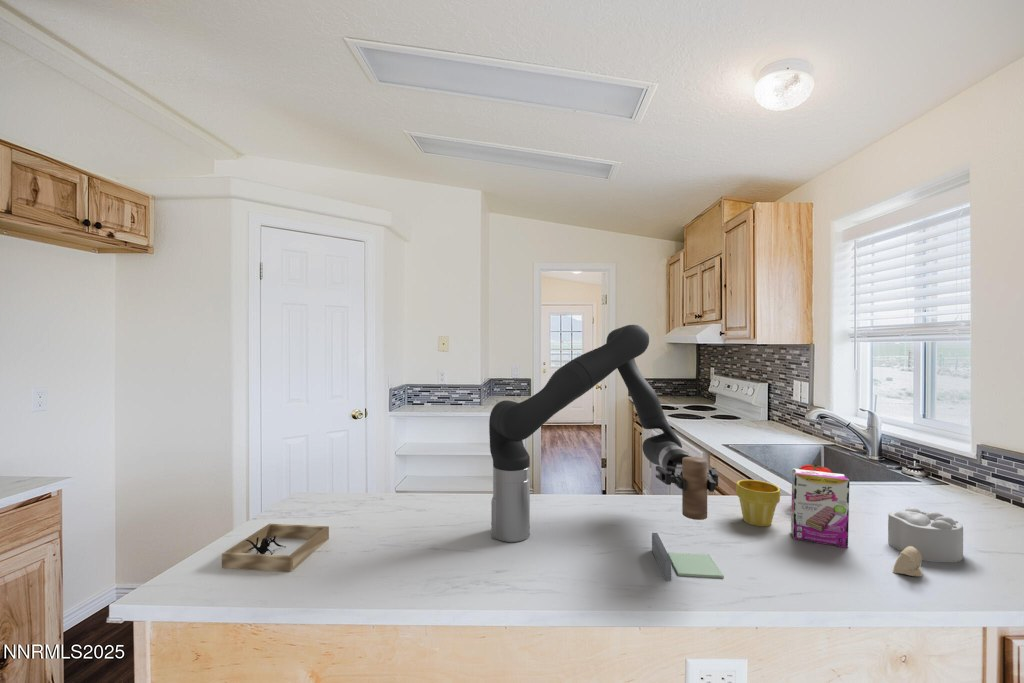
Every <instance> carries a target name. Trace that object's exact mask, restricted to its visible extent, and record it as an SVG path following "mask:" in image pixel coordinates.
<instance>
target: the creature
mask: <svg viewBox="0 0 1024 683" xmlns="http://www.w3.org/2000/svg"><path fill="white" fill-rule="evenodd" d="M267 535H268V532H267ZM258 538H259V537H257V542H256V545H255V544H254V543H253V542H252V541H250V540H246V541H249V542H250V543H251V544H252V545H253V547H252V548H250V549H249V550H251V549H252V550H254V549H255V551H257V552H256V553H255V554H266V553H267V552H270V553H269V554H270V555H274V552H275V551H276V550H278V549H279V550H280V549H281V548H285V549H286V548H287V546H285V545H283V544H279V543H278V542H277V541H276V539H277V537H276V536H274V537H270V538H268V539H267V536H266V538H263V540H262V542H261V544H260V545H258ZM271 543H273V544H274V545H275V546H277V547H278V548H276V549H274V550H271V549H270V546H271ZM257 545H258V546H257ZM252 550H251V551H252ZM272 551H273V552H272Z"/></svg>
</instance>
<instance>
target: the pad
mask: <svg viewBox="0 0 1024 683" xmlns="http://www.w3.org/2000/svg"><path fill="white" fill-rule="evenodd" d="M667 553H668V555H669V557H670V559H671V565H673V568H674V570H675V572H676V574H677V575H678V576H680V577H681V576H682V577H698V578H715V579H724V578H725V575H724V574H723V572H722V571H721V570H720V568H719V567H718V566H717V564H716V563H715V561H714V560H713V558H712V557H711V555H710V554H706V553H687V552H686V553H685V552H668V551H667Z"/></svg>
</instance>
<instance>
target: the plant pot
mask: <svg viewBox="0 0 1024 683" xmlns="http://www.w3.org/2000/svg"><path fill="white" fill-rule="evenodd" d="M735 486H736V489H735V490H736V491H735V492H736V493H735V494H736V496H737V497H738V498H739V504H740V508H741V513H742V518H743V522H744V521H745V523H747V524H750V525H753V526H757V527H770V526H771V525H772V522H773V520H774V515H775V511H776V507H777V504H779V503H780V499H781V489H780V487H779V486H777V485H776V484H773V483H771V482H767V481H764V480H759V479H758V480H757V479H740V480H738V481H736V485H735Z"/></svg>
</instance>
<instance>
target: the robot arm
mask: <svg viewBox="0 0 1024 683" xmlns="http://www.w3.org/2000/svg"><path fill="white" fill-rule="evenodd" d="M649 344H650V335H649V332H648V331H647V330H646V329H645V328H644V327H643V326H642V325H638V324H628V325H625V326H621V327H618V328H615V329H614V330H611V331H610V332H609V333H608V335H607V338H606V342H605V343H604V344H603V345H601V346H599V347H597V348H595V349H592V350H590V351H587V352H585V353H583V354H581V355H579V356H577V357H574V358H573V359H572V360H570V361H568V362H567V363H565V364H564V365H562V366H561V367H559V368H558V369H557V370H556V371H554V373H552V375H551V376H550V378H549V379H548V381H546V382H547V383H546V384H545V385H544V386H543V388H542V389H541V390H539V391H538V392H537V393H535V394H533V395H532V396H530V397H528V398H527V399H525V400H523V401H521V402H517V401H512V400H508V399H507V400H501V401H499V402H497V403H496V404H495V405H494V406H493V408H492V409H491V411H490V415H489V422H488V424H489V426H488V427H489V430H488V433H489V451H490V454H491V458H492V498H491V503H490V504H491V511H490V512H491V514H490V515H491V517H490V518H491V519H490V520H491V528H490V529H491V532H490V533H491V539H495V540H498V541H501V542H507V543H508V542H509V543H516V542H521V541H525V540H527V539H528V538H529V537H530V535H531V534H530V533H531V532H530V531H531V525H530V524H531V522H530V521H531V520H530V519H531V518H530V517H531V516H530V515H531V512H530V511H531V510H530V508H531V507H530V506H531V505H530V504H531V502H530V501H531V496H530V495H531V493H530V492H531V490H530V486H531V479H530V478H531V476H530V474H531V469H530V468H531V466H530V465H531V461H530V454H529V452H528V451H527V450H526V448H525V446H524V442H523V441H524V440H526V439H528V438H529V437H530V436H532V435H533V434H534V433H535V432H537V430H539V428H541V427H542V426H543V425H544V424H545V423H547V421H548V420H550V418H552V417H554V416H555V415H556V414H557V413H558V412H560V411H561V410H563V409H564V408H566V407H567V406H569V405H570V404H571V403H573V402H574V401H576V400H577V399H579V398H580V397H582V396H583V395H585V394H586V393H587V392H589V391H590V390H592V389H593V388H594V387H596V385H598V384H599V383H600V382H602V381H603V380H604V379H605V378H607V377H608V376H609V375H610V374H612V373H614V372H615V370H618V372H619V375H620V376H621V379H622V380H623V382H624V384H625V386H626V388H627V391H628V393H629V394H630V397H631V399H632V402H633V405H634V408H635V411H636V414H637V416H638V420H639V423H640V425H641V428H642V429H645V430H661V431H662V433H660V434H656V435H654V436H649V437H647V438H646V439H645V440H644V441H643V443H642V452H643V454H644V456H645V458H646V459H647V460H648V461H649V462H650V463H652V464H654V465H657V466H655V478H656V479H657V480H659V481H660V482H662V483H663V484H665V485H667V486H670V485H672V484H674V486H676V487H677V488H678V489H680V490H681V492H682V491H686V490H687V482H686V480H685V479H684V478H683V477H682V458H684V457H693V456H692V455H691V454H690V453H689V452H687V451H686V450H685V449H684V448H683V444H682V441H681V440H680V438H679V437H678V436H677V434H676V433H675V431H674V429H672V427H671V425H670V424H669V422H668V420H667V418H666V415H665V413H664V410H663V407H662V404H661V402H660V398H659V396H658V395H657V393H656V391H655V390H654V388H653V386H651V384H649V382H648V380H646V379H645V376H644V375H642V373H641V371H640V369H639V367H638V365H637V363H636V360H635V358H638V357H639V356H641V355H642V354H645V352H646V350H647V349H648V347H649ZM716 487H719V473H718V470H717V468H716V467H713V466H712V467H710V468H708V469H707V491H709V493H710V492H711V493H714V492H715V490H716V489H717V488H716Z"/></svg>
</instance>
